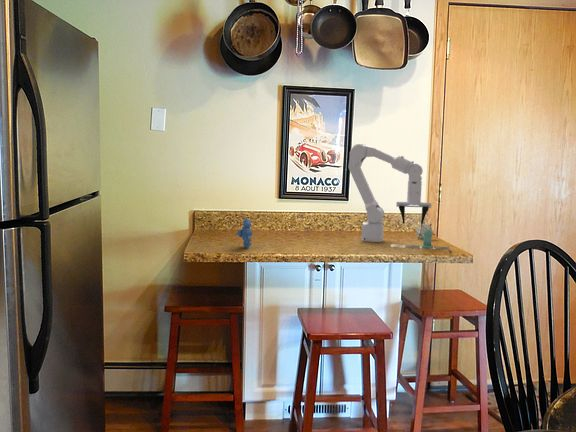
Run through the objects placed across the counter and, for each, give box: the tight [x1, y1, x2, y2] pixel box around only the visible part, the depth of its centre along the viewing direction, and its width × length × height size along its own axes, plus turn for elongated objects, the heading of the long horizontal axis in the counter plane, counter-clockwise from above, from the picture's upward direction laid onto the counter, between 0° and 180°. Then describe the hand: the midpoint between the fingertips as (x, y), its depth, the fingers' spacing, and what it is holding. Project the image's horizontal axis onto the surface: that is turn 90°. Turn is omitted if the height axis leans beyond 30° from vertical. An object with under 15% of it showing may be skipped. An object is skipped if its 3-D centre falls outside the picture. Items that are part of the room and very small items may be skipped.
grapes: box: [236, 217, 254, 249], centre depth 218 cm, size 12×7×12 cm, turn 6°
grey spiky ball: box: [413, 223, 436, 240], centre depth 242 cm, size 9×8×10 cm
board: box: [390, 244, 452, 254], centre depth 221 cm, size 24×10×1 cm, turn 79°
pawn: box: [420, 229, 434, 250], centre depth 220 cm, size 5×5×8 cm
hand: (412, 223), depth 229 cm, fingers open, 7 cm apart
